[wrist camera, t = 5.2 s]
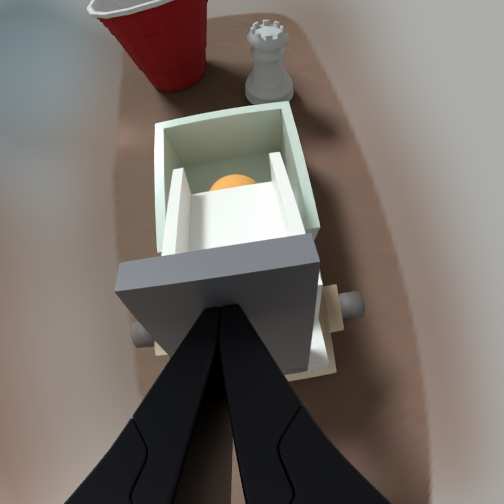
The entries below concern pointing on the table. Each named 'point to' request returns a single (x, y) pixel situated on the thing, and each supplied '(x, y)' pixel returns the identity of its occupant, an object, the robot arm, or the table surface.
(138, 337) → the stand
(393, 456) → the table surface
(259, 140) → the pale green open box
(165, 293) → the chute
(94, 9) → the plastic cup
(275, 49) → the rook chess piece
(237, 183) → the ball
